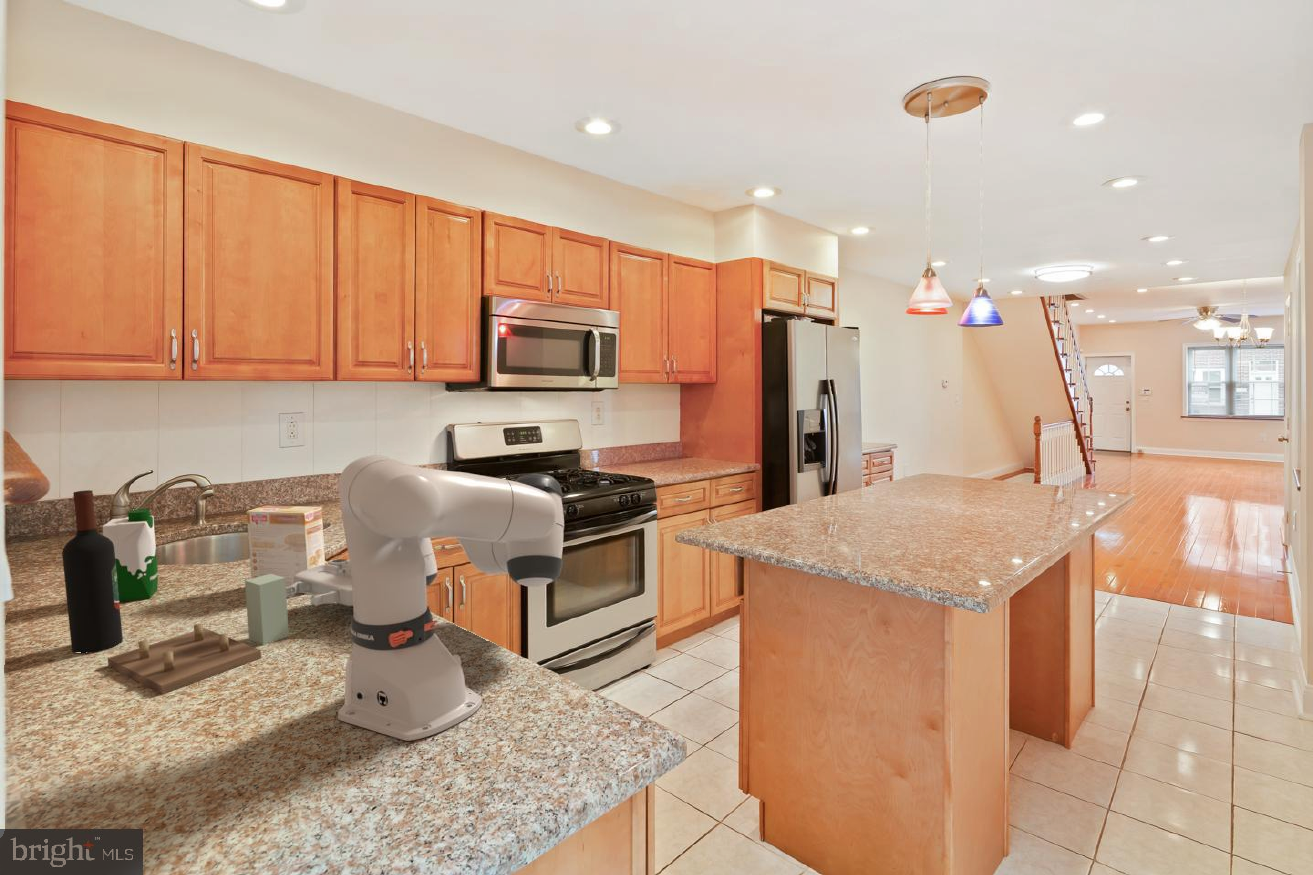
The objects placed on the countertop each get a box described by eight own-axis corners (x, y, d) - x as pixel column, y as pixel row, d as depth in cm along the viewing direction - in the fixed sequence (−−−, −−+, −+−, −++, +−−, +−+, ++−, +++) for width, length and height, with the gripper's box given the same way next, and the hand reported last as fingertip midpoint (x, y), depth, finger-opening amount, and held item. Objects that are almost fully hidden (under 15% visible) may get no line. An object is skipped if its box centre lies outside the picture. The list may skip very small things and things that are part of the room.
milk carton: (154, 599, 155) (146, 513, 153) (104, 605, 151) (96, 517, 149) (163, 587, 163) (156, 506, 161) (116, 593, 159) (108, 509, 157)
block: (288, 636, 134) (285, 577, 133) (263, 645, 130) (259, 584, 129) (274, 631, 137) (270, 573, 136) (249, 639, 133) (244, 580, 131)
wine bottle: (64, 648, 129) (48, 493, 125) (111, 634, 135) (97, 486, 132) (83, 656, 125) (67, 497, 122) (130, 641, 132) (116, 490, 128)
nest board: (261, 657, 125) (259, 634, 124) (162, 694, 111) (160, 668, 111) (205, 635, 135) (203, 613, 134) (108, 666, 121) (106, 642, 121)
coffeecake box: (327, 584, 165) (323, 506, 163) (308, 594, 158) (303, 512, 156) (271, 581, 168) (266, 504, 165) (250, 591, 161) (245, 510, 158)
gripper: (389, 600, 146) (330, 621, 134) (331, 584, 156) (271, 603, 144) (388, 572, 145) (328, 591, 133) (329, 557, 155) (269, 574, 144)
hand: (298, 597), depth 139 cm, fingers open, 8 cm apart
